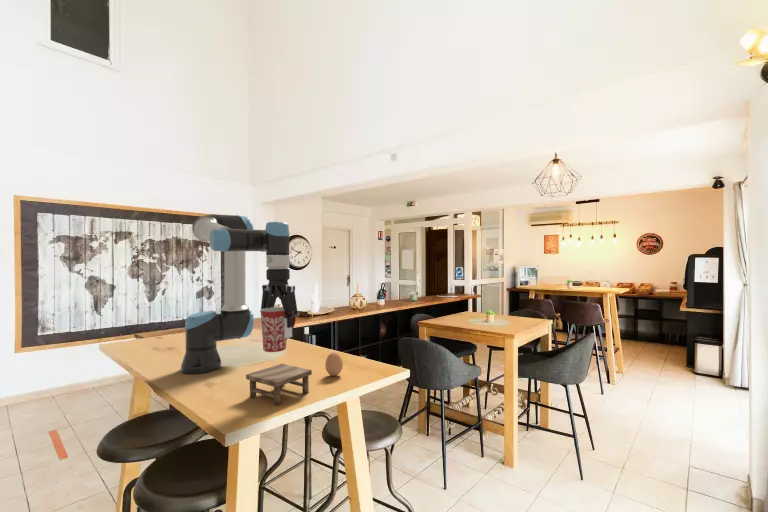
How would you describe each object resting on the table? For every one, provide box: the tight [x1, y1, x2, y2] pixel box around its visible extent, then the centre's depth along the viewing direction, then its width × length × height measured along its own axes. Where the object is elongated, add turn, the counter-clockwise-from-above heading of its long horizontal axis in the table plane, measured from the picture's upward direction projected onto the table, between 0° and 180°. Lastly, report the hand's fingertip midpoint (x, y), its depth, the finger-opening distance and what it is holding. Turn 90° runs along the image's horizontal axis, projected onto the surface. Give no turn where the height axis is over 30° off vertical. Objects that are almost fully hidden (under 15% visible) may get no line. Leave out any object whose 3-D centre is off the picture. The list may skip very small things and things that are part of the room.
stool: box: [245, 363, 313, 406], centre depth 126 cm, size 15×15×8 cm
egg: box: [325, 351, 344, 377], centre depth 146 cm, size 7×7×9 cm
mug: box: [259, 306, 297, 353], centre depth 126 cm, size 13×9×14 cm
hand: (278, 335), depth 127 cm, fingers closed on mug, 8 cm apart
